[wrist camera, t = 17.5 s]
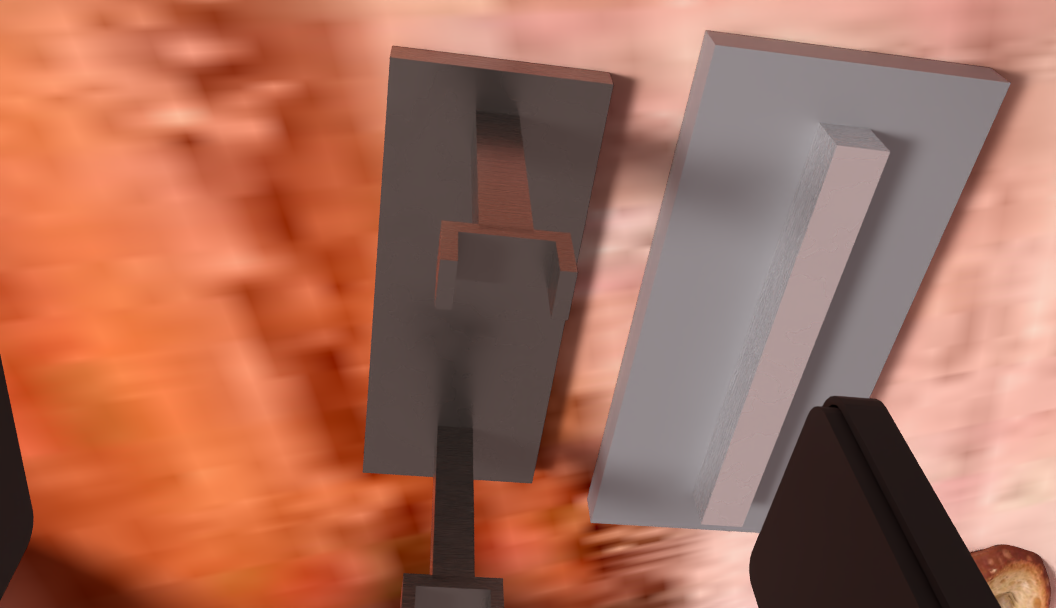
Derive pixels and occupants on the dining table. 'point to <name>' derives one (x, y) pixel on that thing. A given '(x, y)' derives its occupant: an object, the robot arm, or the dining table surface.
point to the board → (750, 242)
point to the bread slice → (1014, 576)
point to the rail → (788, 316)
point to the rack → (474, 282)
